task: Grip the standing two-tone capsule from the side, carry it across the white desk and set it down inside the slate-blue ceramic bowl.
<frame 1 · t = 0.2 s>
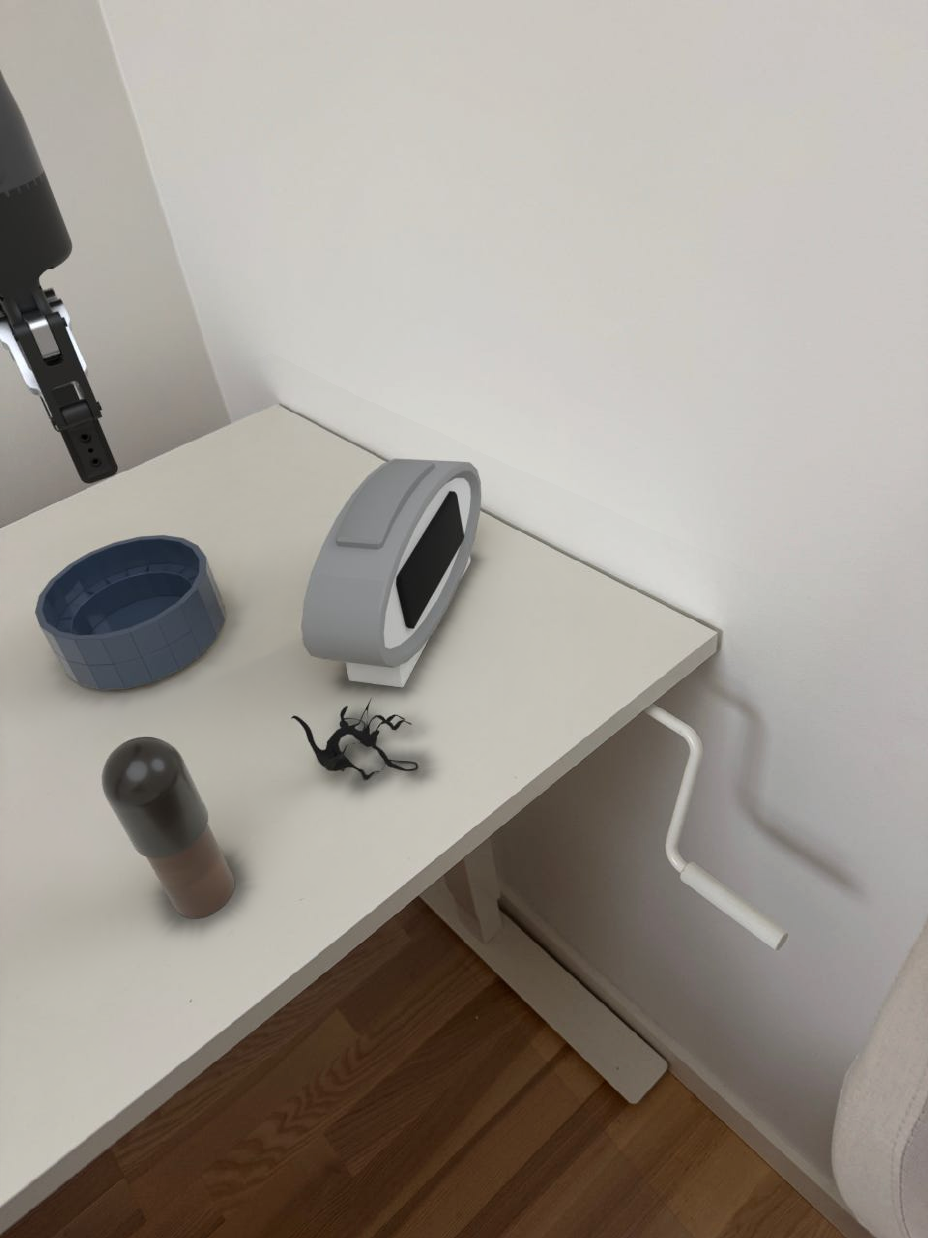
hand: (86, 451, 60), 23 cm above the table, tool pointing down, fingers open, 8 cm apart
creature: (371, 757, 69), on the table
alarm clock: (415, 618, 81), on the table
bowl: (146, 638, 83), on the table
two-tone capsule: (204, 891, 61), on the table
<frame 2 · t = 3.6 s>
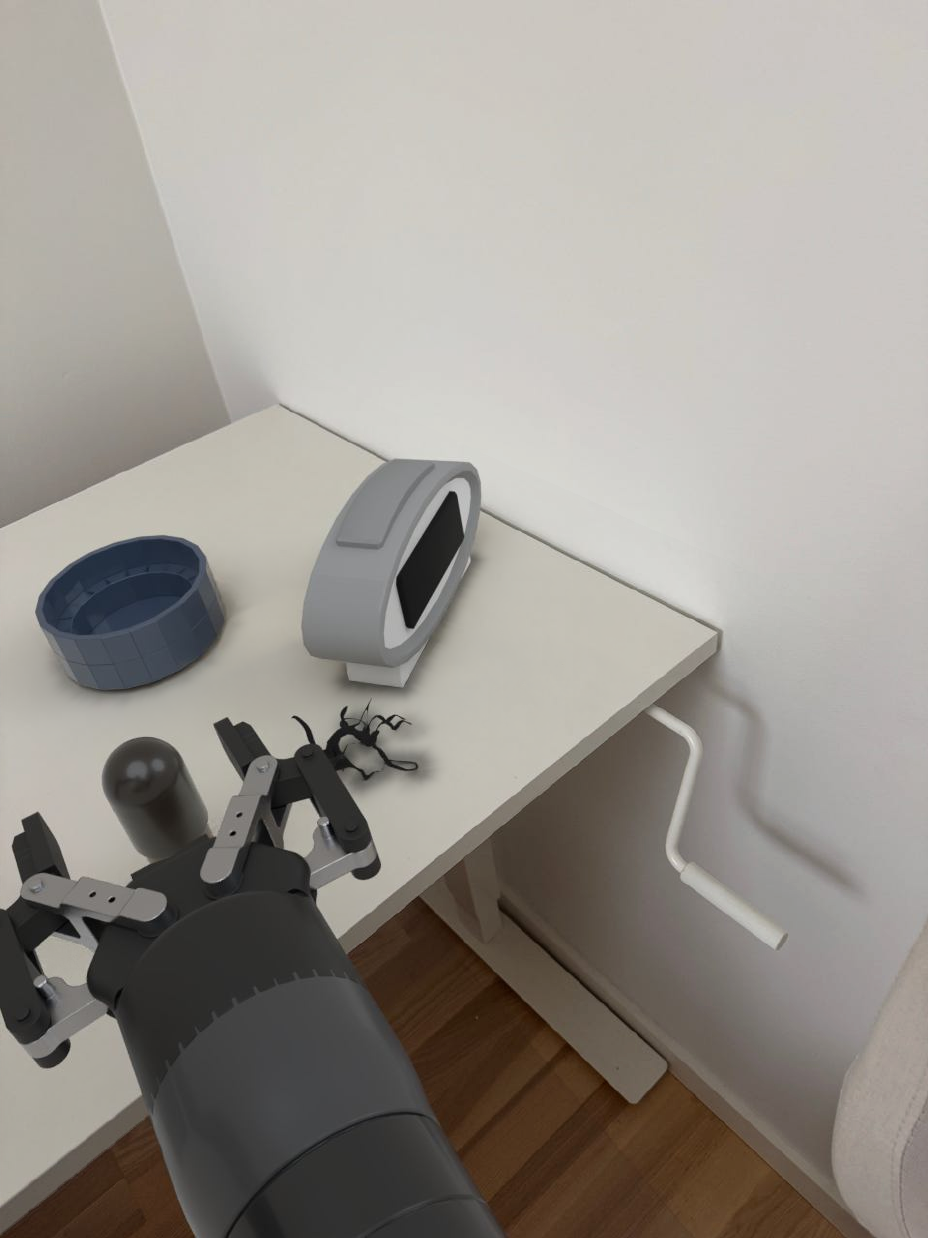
hand: (134, 779, 42), 20 cm above the table, tool horizontal, fingers open, 8 cm apart
nothing on the table moved.
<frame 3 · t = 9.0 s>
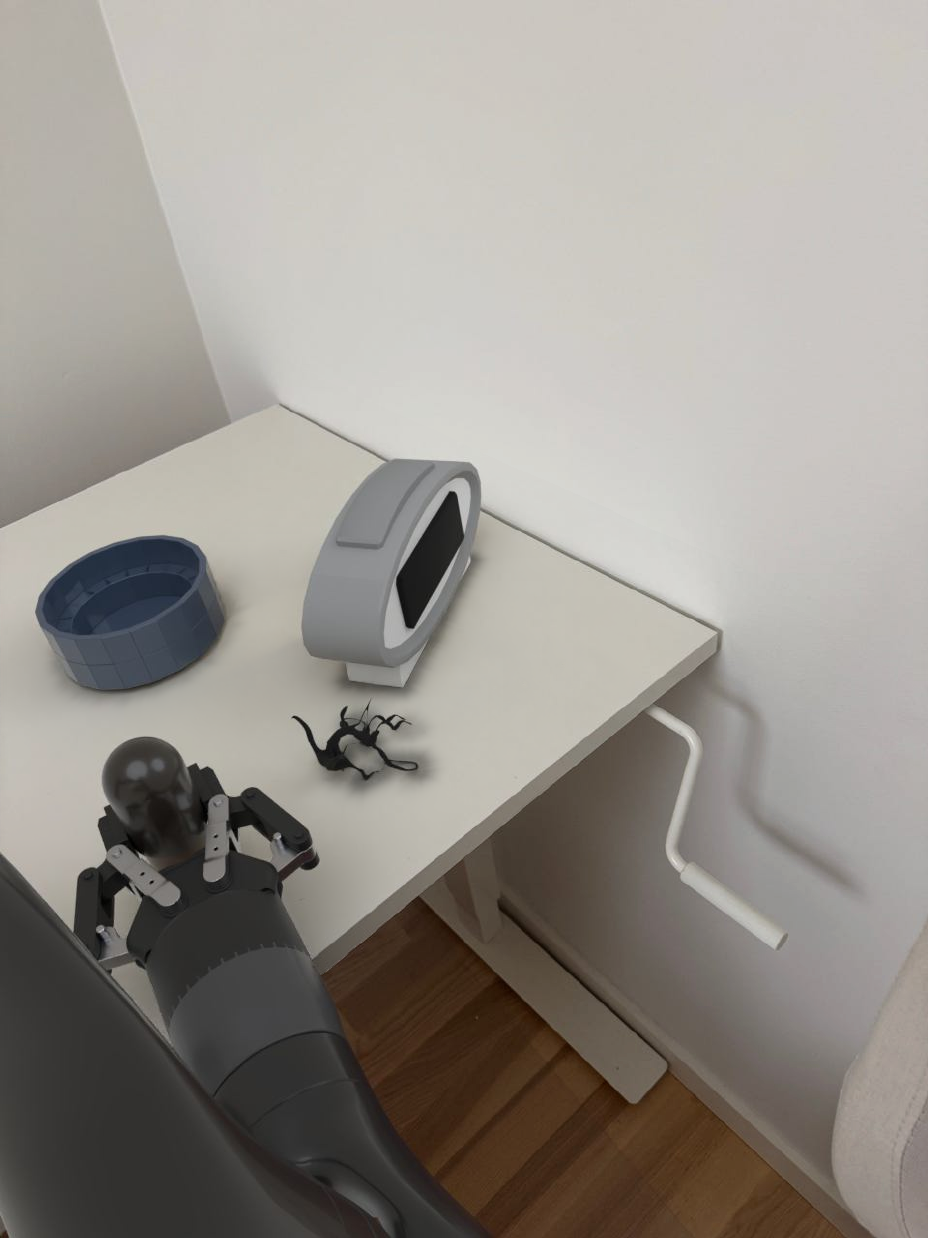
hand: (155, 794, 59), 7 cm above the table, tool horizontal, fingers closed on two-tone capsule, 4 cm apart
two-tone capsule: (203, 891, 61), on the table, touching gripper
everything else where it was.
when the fingers open (8 cm above the table, at t = 18.1 s): two-tone capsule stays where it is, resting on bowl.
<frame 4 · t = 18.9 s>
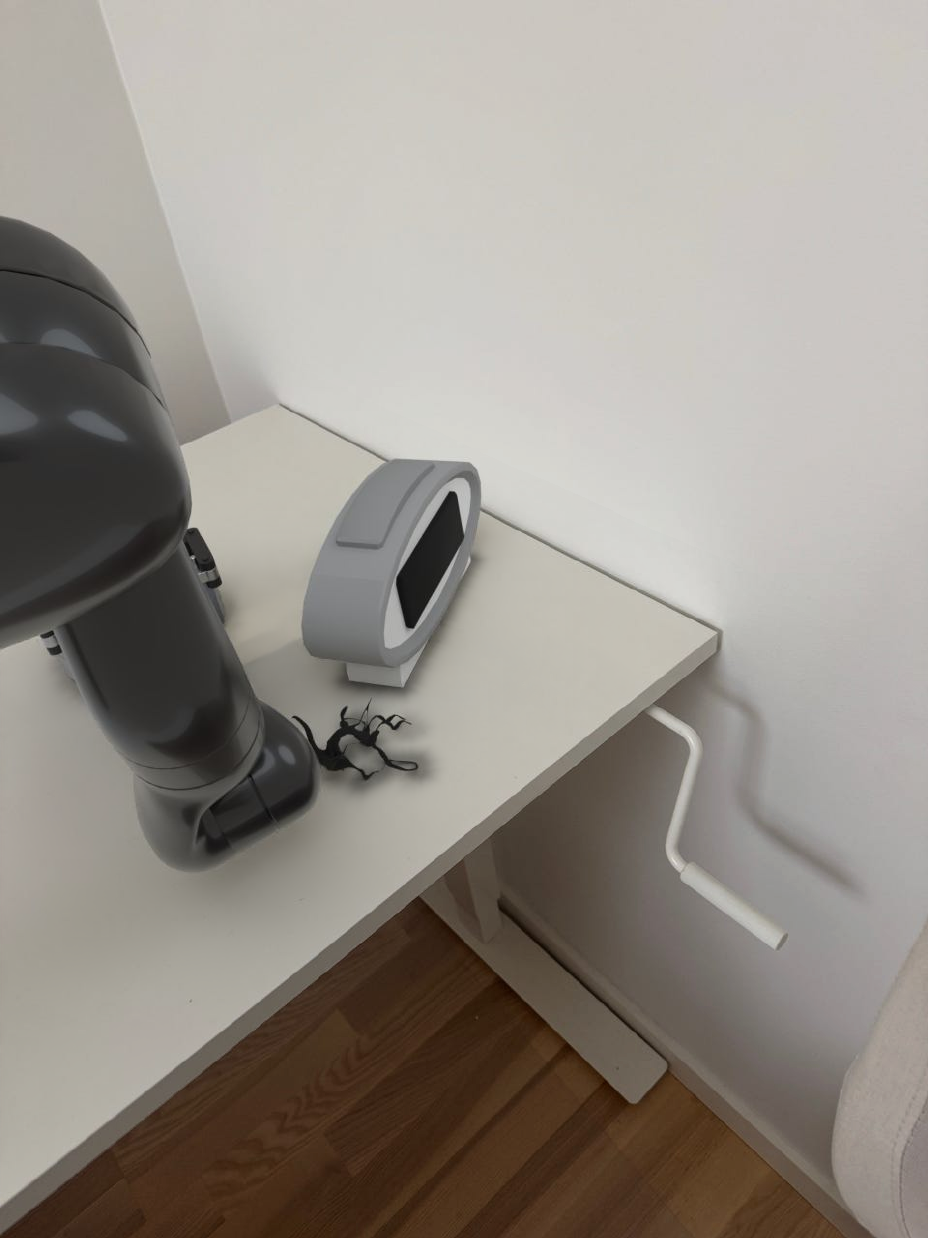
hand: (103, 547, 79), 9 cm above the table, tool horizontal, fingers open, 8 cm apart
two-tone capsule: (146, 632, 83), point 1 cm above the table, touching bowl
everything else where it was.
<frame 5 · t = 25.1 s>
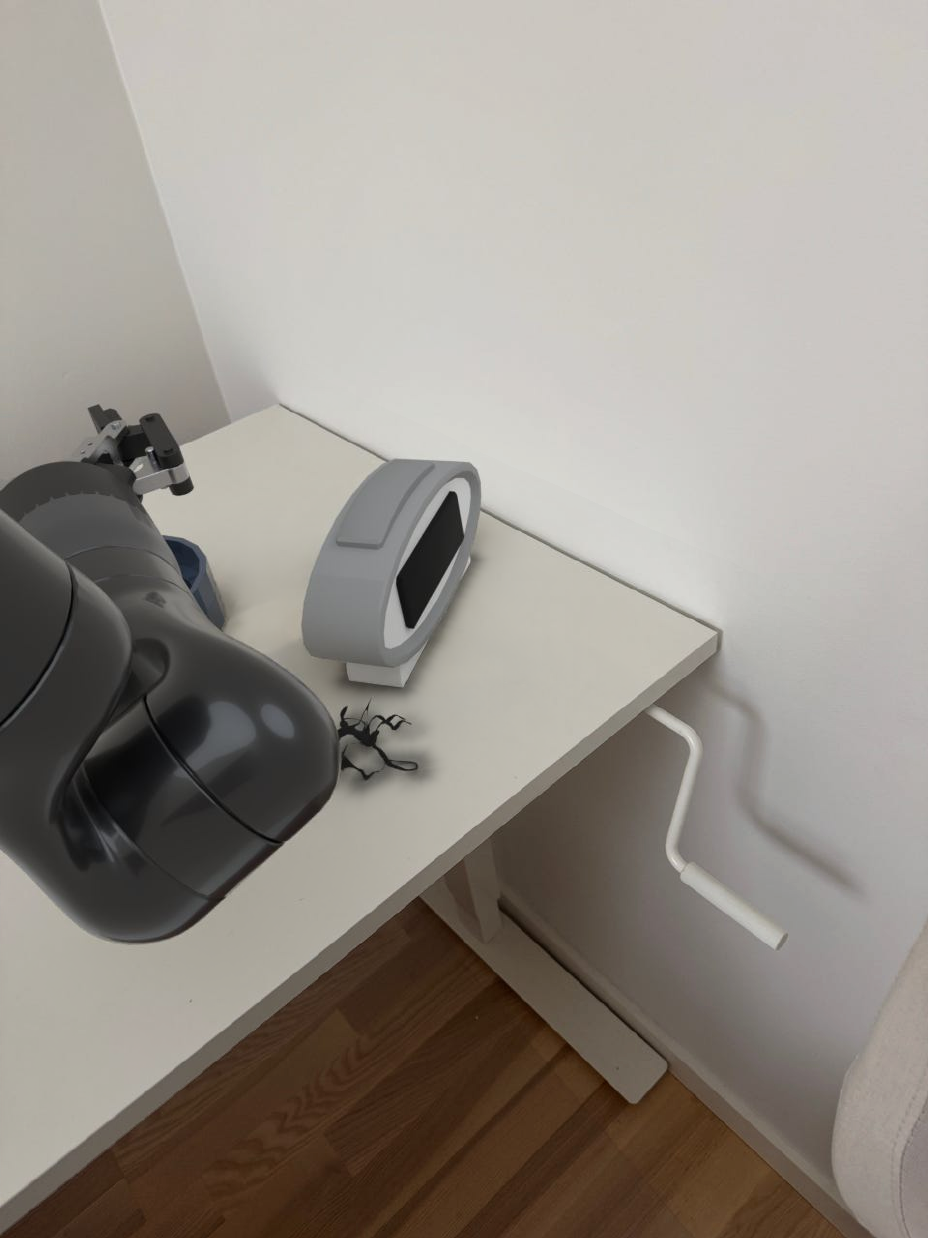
hand: (26, 445, 56), 26 cm above the table, tool horizontal, fingers open, 8 cm apart
nothing on the table moved.
at the end: two-tone capsule inside the target area in the bowl (0.1 cm from its centre), point 0.6 cm above the bowl's base; the gripper is holding nothing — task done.
